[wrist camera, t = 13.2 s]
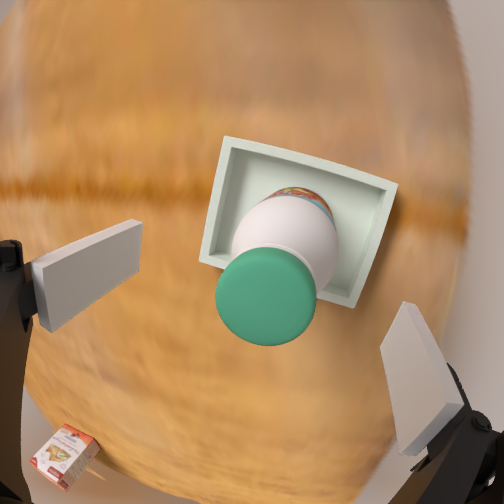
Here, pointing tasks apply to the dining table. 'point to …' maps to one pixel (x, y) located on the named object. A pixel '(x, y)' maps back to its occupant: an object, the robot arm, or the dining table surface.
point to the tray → (311, 176)
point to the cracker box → (65, 456)
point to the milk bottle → (278, 267)
